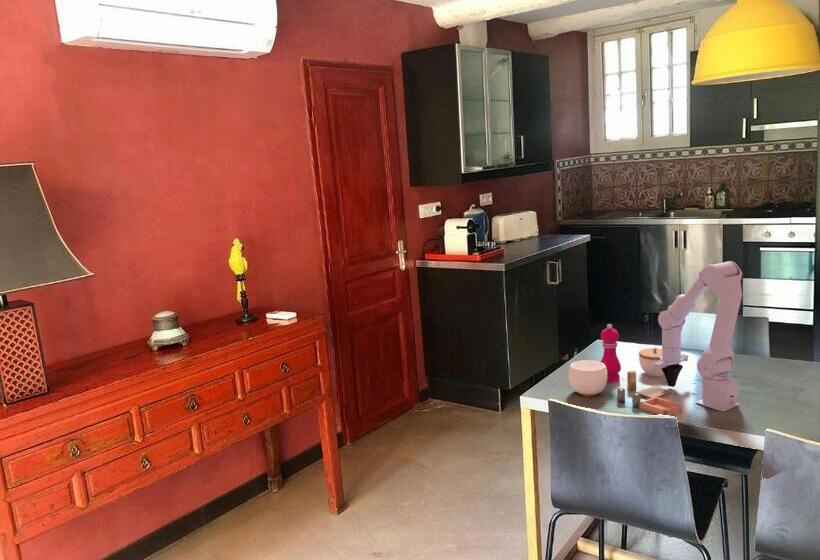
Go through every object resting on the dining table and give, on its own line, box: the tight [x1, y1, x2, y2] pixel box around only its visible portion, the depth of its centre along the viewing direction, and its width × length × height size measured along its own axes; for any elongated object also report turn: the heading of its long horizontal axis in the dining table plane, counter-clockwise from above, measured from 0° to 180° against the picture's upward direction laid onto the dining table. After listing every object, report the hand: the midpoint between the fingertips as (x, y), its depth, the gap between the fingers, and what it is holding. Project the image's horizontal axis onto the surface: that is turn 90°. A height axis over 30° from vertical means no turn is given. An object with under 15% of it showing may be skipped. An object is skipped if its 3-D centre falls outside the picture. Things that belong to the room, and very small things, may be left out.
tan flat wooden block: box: [635, 385, 673, 400], centre depth 218 cm, size 7×9×2 cm
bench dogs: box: [616, 387, 642, 409], centre depth 211 cm, size 8×2×4 cm, turn 32°
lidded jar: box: [638, 347, 665, 377], centre depth 237 cm, size 11×11×9 cm
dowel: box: [626, 370, 637, 392], centre depth 224 cm, size 3×3×6 cm
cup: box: [568, 359, 608, 397], centre depth 222 cm, size 12×12×10 cm
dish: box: [639, 397, 682, 416], centre depth 205 cm, size 9×7×2 cm
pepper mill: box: [600, 323, 622, 384], centre depth 232 cm, size 7×7×20 cm
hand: (671, 385), depth 222 cm, fingers closed
